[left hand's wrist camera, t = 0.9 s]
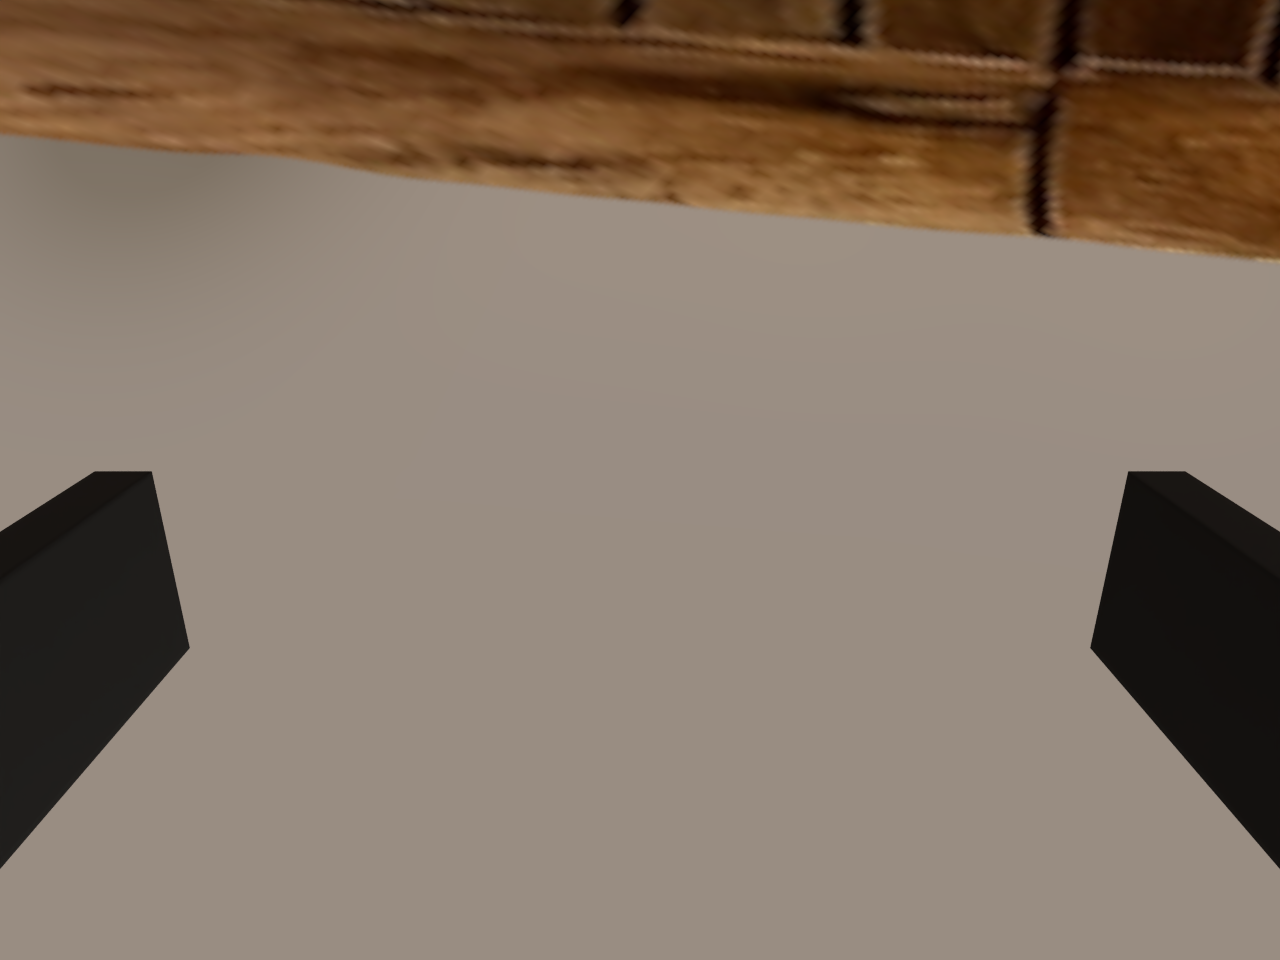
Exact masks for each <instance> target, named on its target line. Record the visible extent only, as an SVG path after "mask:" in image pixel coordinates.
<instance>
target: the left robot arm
mask: <svg viewBox="0 0 1280 960" xmlns="http://www.w3.org/2000/svg"><path fill="white" fill-rule="evenodd" d="M189 648H190V647H189V642H188V638H187V633H186V629H185V624H184V619H183V615H182V610H181V605H180V601H179V596H178V591H177V587H176V582H175V577H174V573H173V568H172V563H171V559H170V554H169V550H168V545H167V540H166V536H165V531H164V526H163V522H162V517H161V512H160V508H159V503H158V498H157V494H156V490H155V484H154V480H153V475H152V472H151V471H100V472H99V471H95V472H93V473H92V474H90V475H88V476H87V477H85V478H84V479H82V480H81V481H79V482H77V483H76V484H74V485H73V486H71V487H70V488H68V489H67V490H65V491H63V492H62V493H60V494H59V495H57V496H56V497H54V498H52V499H51V500H49V501H48V502H46V503H45V504H43V505H41V506H40V507H38V508H37V509H35V510H34V511H32V512H31V513H29V514H27V515H26V516H24V517H23V518H21V519H20V520H18V521H16V522H15V523H13V524H12V525H10V526H9V527H7V528H5V529H4V530H2V531H1V532H0V868H1V867H2V866H3V865H4V864H5V863H6V861H7V860H8V859H9V858H10V857H11V856H12V854H13V853H14V852H15V851H16V850H17V849H18V847H19V846H20V845H21V844H22V843H23V842H24V840H25V839H26V838H27V837H28V836H29V835H30V833H31V832H32V831H33V830H34V829H35V828H36V826H37V825H38V824H39V823H40V822H41V821H42V819H43V818H44V817H45V816H46V815H47V814H48V812H49V811H50V810H51V809H52V808H53V807H54V805H55V804H56V803H57V802H58V801H59V800H60V798H61V797H62V796H63V795H64V794H65V793H66V791H67V790H68V789H69V788H70V787H71V786H72V785H73V783H74V782H75V781H76V780H77V779H78V778H79V776H80V775H81V774H82V773H83V772H84V770H85V769H86V768H87V767H88V766H89V765H90V764H91V762H92V761H93V760H94V759H95V758H96V756H97V755H98V754H99V753H100V752H101V751H102V750H103V748H104V747H105V746H106V745H107V744H108V742H109V741H110V740H111V739H112V738H113V737H114V736H115V734H116V733H117V732H118V731H119V730H120V729H121V727H122V726H123V725H124V724H125V723H126V721H127V720H128V719H129V718H130V717H131V716H132V715H133V713H134V712H135V711H136V710H137V709H138V708H139V706H140V705H141V704H142V703H143V702H144V701H145V699H146V698H147V697H148V696H149V695H150V694H151V692H152V691H153V690H154V689H155V688H156V687H157V685H158V684H159V683H160V682H161V681H162V680H163V678H164V677H165V676H166V675H167V674H168V673H169V671H170V670H171V669H172V668H173V667H174V666H175V664H176V663H177V662H178V661H179V660H180V659H181V657H182V656H183V655H184V654H185V653H186V652H187V650H188V649H189ZM1090 648H1091V649H1092V650H1093V652H1094V653H1095V654H1096V655H1097V656H1098V657H1099V659H1100V660H1101V661H1102V662H1103V663H1104V664H1105V666H1106V667H1107V668H1108V669H1109V670H1110V671H1111V673H1112V674H1113V675H1114V676H1115V677H1116V678H1117V680H1118V681H1119V682H1120V683H1121V684H1122V685H1123V687H1124V688H1125V689H1126V690H1127V691H1128V692H1129V694H1130V695H1131V696H1132V697H1133V698H1134V699H1135V701H1136V702H1137V703H1138V704H1139V705H1140V706H1141V708H1142V709H1143V710H1144V711H1145V712H1146V713H1147V715H1148V716H1149V717H1150V718H1151V719H1152V720H1153V722H1154V723H1155V724H1156V725H1157V726H1158V727H1159V729H1160V730H1161V731H1162V732H1163V733H1164V734H1165V736H1166V737H1167V738H1168V739H1169V740H1170V741H1171V743H1172V744H1173V745H1174V746H1175V747H1176V748H1177V750H1178V751H1179V752H1180V753H1181V754H1182V755H1183V756H1184V758H1185V759H1186V760H1187V761H1188V762H1189V764H1190V765H1191V766H1192V767H1193V768H1194V769H1195V771H1196V772H1197V773H1198V774H1199V775H1200V776H1201V777H1202V779H1203V780H1204V781H1205V782H1206V783H1207V785H1208V786H1209V787H1210V788H1211V789H1212V790H1213V791H1214V793H1215V794H1216V795H1217V796H1218V797H1219V798H1220V800H1221V801H1222V802H1223V803H1224V804H1225V805H1226V807H1227V808H1228V809H1229V810H1230V811H1231V812H1232V814H1233V815H1234V816H1235V817H1236V818H1237V819H1238V821H1239V822H1240V823H1241V824H1242V825H1243V826H1244V828H1245V829H1246V830H1247V831H1248V832H1249V833H1250V835H1251V836H1252V837H1253V838H1254V839H1255V840H1256V842H1257V843H1258V844H1259V845H1260V846H1261V847H1262V849H1263V850H1264V851H1265V852H1266V853H1267V854H1268V856H1269V857H1270V858H1271V859H1272V860H1273V861H1274V863H1275V864H1276V865H1277V866H1278V867H1279V868H1280V532H1279V531H1278V530H1276V529H1275V528H1273V527H1271V526H1270V525H1268V524H1267V523H1265V522H1264V521H1262V520H1260V519H1259V518H1257V517H1256V516H1254V515H1253V514H1251V513H1249V512H1248V511H1246V510H1245V509H1243V508H1242V507H1240V506H1238V505H1237V504H1235V503H1234V502H1232V501H1231V500H1229V499H1228V498H1226V497H1224V496H1223V495H1221V494H1220V493H1218V492H1217V491H1215V490H1213V489H1212V488H1210V487H1209V486H1207V485H1206V484H1204V483H1203V482H1201V481H1199V480H1198V479H1196V478H1195V477H1193V476H1192V475H1190V474H1188V473H1187V472H1185V471H1129V472H1128V475H1127V480H1126V484H1125V489H1124V494H1123V498H1122V503H1121V508H1120V512H1119V517H1118V522H1117V526H1116V531H1115V536H1114V540H1113V545H1112V550H1111V554H1110V559H1109V563H1108V568H1107V573H1106V577H1105V582H1104V587H1103V591H1102V596H1101V601H1100V605H1099V610H1098V615H1097V619H1096V624H1095V629H1094V633H1093V638H1092V642H1091V647H1090Z"/></svg>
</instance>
